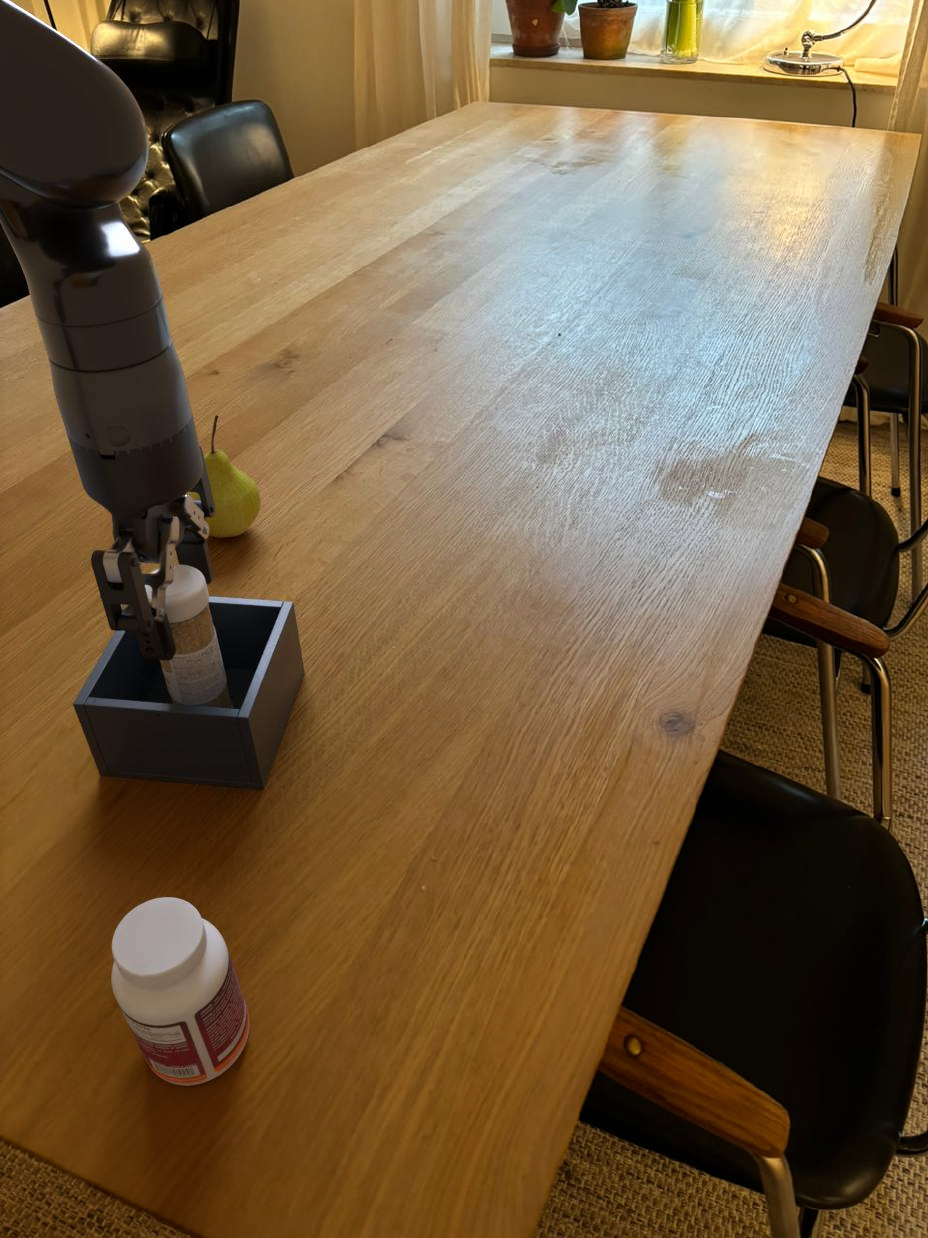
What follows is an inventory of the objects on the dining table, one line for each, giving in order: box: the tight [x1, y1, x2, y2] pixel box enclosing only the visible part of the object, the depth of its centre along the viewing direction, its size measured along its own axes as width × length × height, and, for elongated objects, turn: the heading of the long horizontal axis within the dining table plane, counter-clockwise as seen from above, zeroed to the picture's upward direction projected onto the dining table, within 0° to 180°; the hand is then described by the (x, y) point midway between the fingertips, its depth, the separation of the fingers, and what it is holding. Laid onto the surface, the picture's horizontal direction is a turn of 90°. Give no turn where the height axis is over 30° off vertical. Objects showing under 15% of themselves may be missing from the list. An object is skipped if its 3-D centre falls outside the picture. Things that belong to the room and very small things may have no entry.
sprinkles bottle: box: [145, 564, 234, 709], centre depth 73 cm, size 5×5×13 cm
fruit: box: [187, 415, 262, 538], centre depth 94 cm, size 7×7×12 cm
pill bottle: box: [110, 896, 250, 1086], centre depth 55 cm, size 6×6×11 cm
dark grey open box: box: [72, 595, 305, 790], centre depth 76 cm, size 13×13×8 cm
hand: (180, 617), depth 71 cm, fingers open, 8 cm apart
